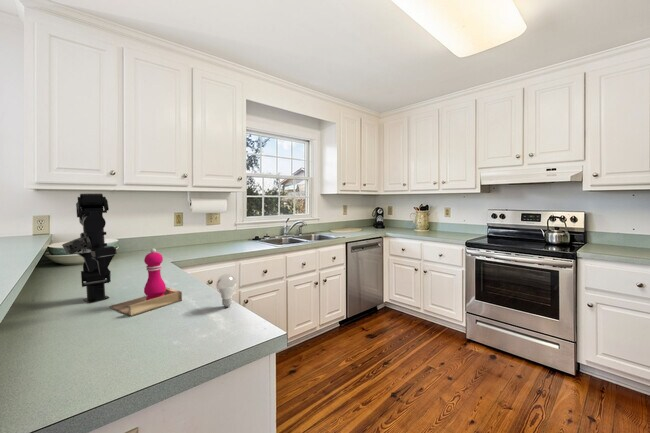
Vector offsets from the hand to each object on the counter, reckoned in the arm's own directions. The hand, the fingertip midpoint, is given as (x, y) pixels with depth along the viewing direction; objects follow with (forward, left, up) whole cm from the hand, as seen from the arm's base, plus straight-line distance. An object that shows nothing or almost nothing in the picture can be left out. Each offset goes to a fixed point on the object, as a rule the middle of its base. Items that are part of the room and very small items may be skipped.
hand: (96, 273), depth 107 cm
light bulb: (+37, +26, -13) cm, 47 cm away
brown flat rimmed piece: (+9, +12, -13) cm, 20 cm away
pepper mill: (+10, +15, -13) cm, 22 cm away
